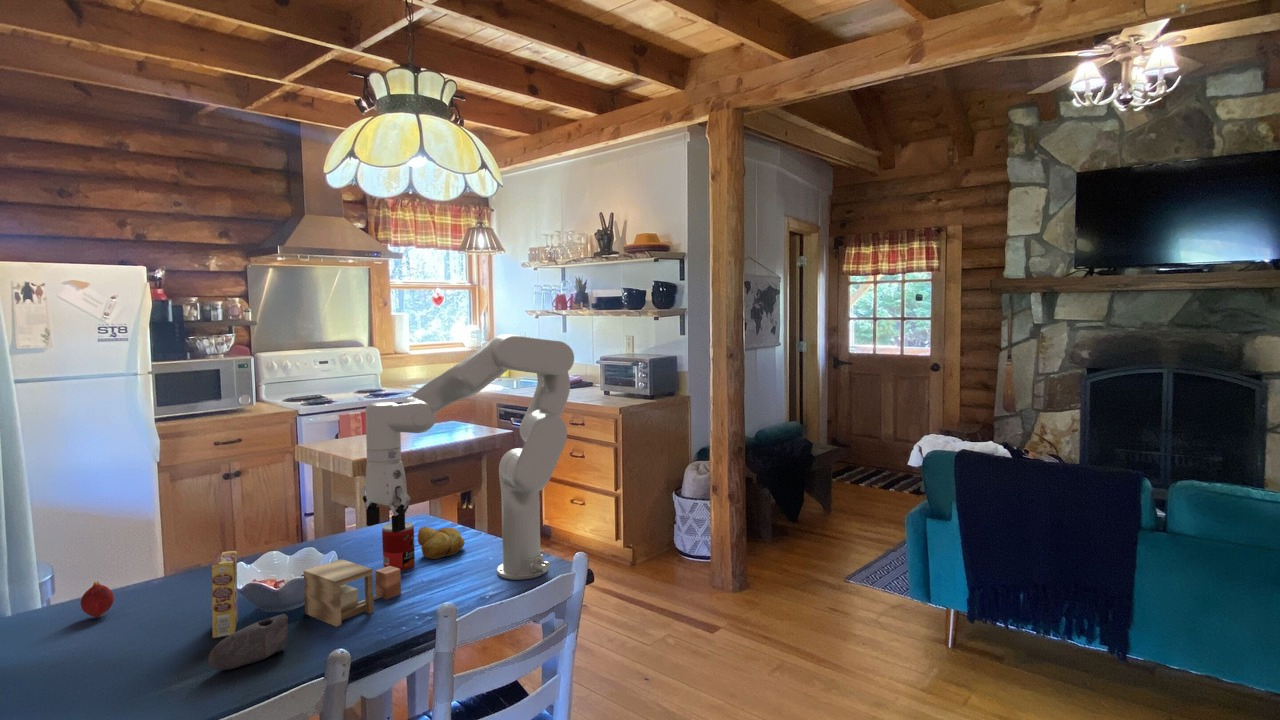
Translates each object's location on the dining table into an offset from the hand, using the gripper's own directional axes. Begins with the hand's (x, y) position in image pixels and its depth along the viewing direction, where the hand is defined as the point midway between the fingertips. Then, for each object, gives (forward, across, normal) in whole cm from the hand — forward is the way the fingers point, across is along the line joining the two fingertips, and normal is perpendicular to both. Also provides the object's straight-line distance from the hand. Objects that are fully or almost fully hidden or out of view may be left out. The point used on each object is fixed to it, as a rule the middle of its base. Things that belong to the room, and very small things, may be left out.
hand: (385, 527), depth 165 cm
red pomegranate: (+16, +42, +43) cm, 63 cm away
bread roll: (+16, +12, -27) cm, 34 cm away
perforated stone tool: (+16, -7, +34) cm, 39 cm away
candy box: (+16, +12, +30) cm, 37 cm away
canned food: (+16, +14, -14) cm, 26 cm away
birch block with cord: (+16, 0, +6) cm, 17 cm away
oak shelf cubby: (+16, 0, +12) cm, 20 cm away
